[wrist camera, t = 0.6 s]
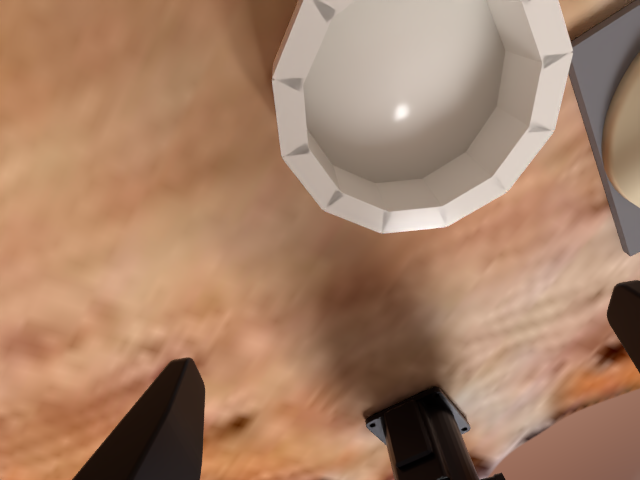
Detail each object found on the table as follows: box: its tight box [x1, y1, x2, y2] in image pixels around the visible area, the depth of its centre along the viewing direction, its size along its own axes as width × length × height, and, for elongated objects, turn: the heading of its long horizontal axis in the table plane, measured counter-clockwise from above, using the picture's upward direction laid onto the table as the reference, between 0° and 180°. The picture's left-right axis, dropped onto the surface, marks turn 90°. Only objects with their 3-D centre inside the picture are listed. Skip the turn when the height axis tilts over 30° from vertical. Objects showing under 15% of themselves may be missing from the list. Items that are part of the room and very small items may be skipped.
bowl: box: [272, 0, 573, 234], centre depth 18 cm, size 11×11×4 cm
